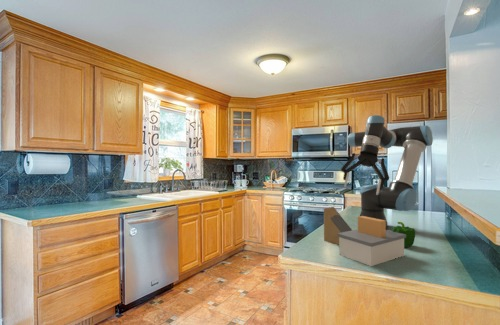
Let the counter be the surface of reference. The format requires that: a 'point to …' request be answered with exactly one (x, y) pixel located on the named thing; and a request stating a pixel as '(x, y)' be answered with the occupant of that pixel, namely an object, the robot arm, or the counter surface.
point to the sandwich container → (333, 225)
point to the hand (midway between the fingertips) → (360, 190)
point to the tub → (371, 251)
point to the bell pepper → (409, 234)
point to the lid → (371, 232)
